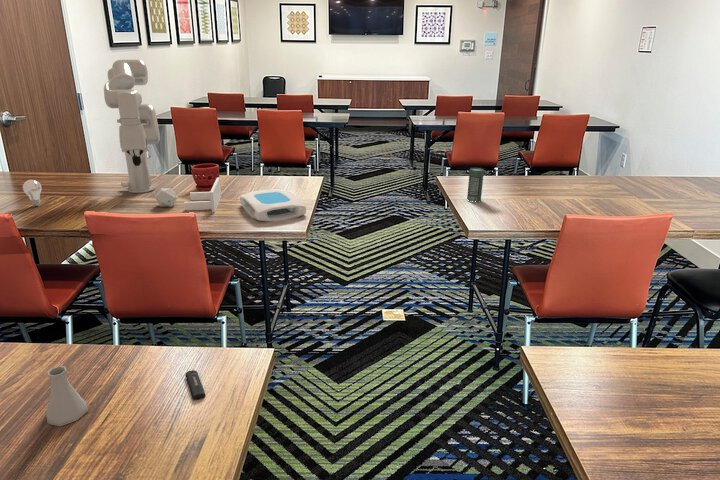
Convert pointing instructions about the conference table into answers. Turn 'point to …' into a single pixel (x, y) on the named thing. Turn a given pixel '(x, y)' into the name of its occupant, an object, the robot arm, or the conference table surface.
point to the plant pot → (205, 176)
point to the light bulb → (33, 191)
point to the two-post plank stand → (205, 198)
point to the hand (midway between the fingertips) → (137, 165)
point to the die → (166, 197)
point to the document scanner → (272, 204)
